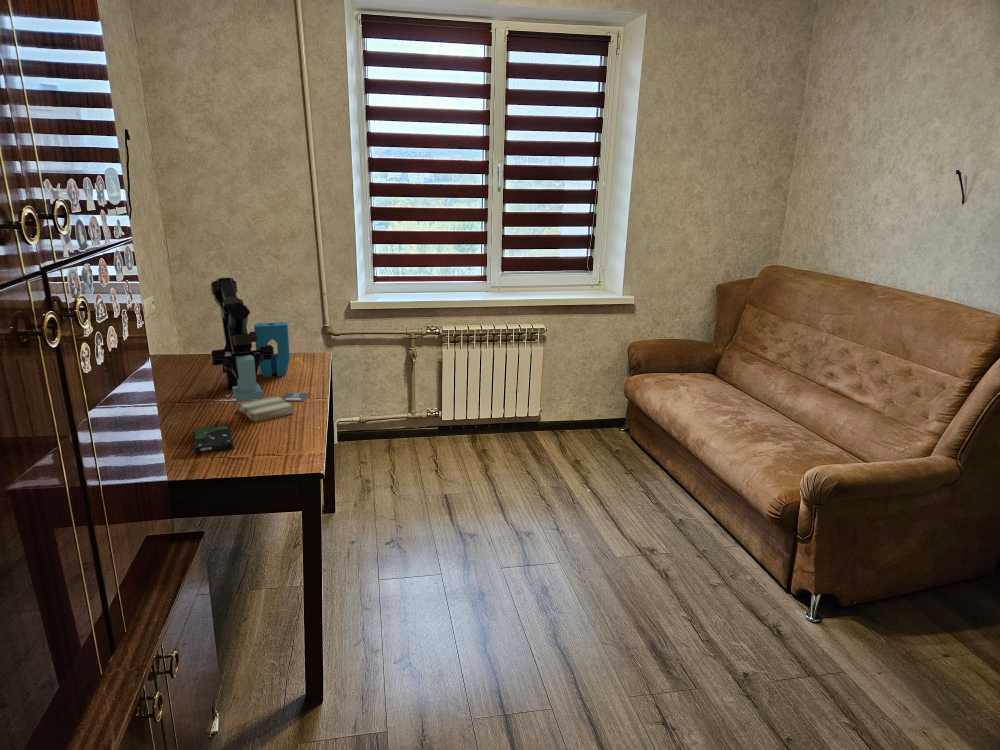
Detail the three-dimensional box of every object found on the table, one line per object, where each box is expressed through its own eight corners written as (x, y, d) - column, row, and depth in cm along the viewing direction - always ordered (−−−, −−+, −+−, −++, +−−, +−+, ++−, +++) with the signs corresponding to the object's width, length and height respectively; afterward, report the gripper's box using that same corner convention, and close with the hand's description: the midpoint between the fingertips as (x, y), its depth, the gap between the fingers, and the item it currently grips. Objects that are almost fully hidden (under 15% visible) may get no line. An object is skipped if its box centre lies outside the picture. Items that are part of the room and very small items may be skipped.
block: (290, 371, 262) (287, 322, 256) (290, 375, 257) (287, 325, 251) (258, 373, 258) (254, 323, 252) (258, 377, 253) (254, 326, 247)
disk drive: (234, 451, 192) (229, 431, 204) (234, 442, 191) (228, 423, 204) (195, 456, 187) (192, 436, 200) (194, 447, 187) (191, 428, 199)
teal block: (233, 393, 216) (229, 355, 212) (258, 390, 220) (255, 353, 216) (236, 401, 209) (233, 362, 205) (263, 398, 213) (260, 360, 209)
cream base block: (239, 411, 221) (238, 403, 220) (277, 403, 229) (276, 395, 228) (255, 423, 212) (254, 414, 211) (293, 414, 220) (293, 406, 219)
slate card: (286, 393, 237) (286, 392, 237) (308, 394, 238) (308, 392, 238) (280, 401, 230) (280, 400, 230) (303, 401, 230) (303, 400, 230)
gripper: (208, 325, 206) (216, 369, 200) (270, 320, 215) (279, 362, 209) (208, 343, 215) (215, 385, 209) (267, 338, 224) (276, 378, 218)
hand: (247, 377), depth 211 cm, fingers closed on teal block, 5 cm apart
